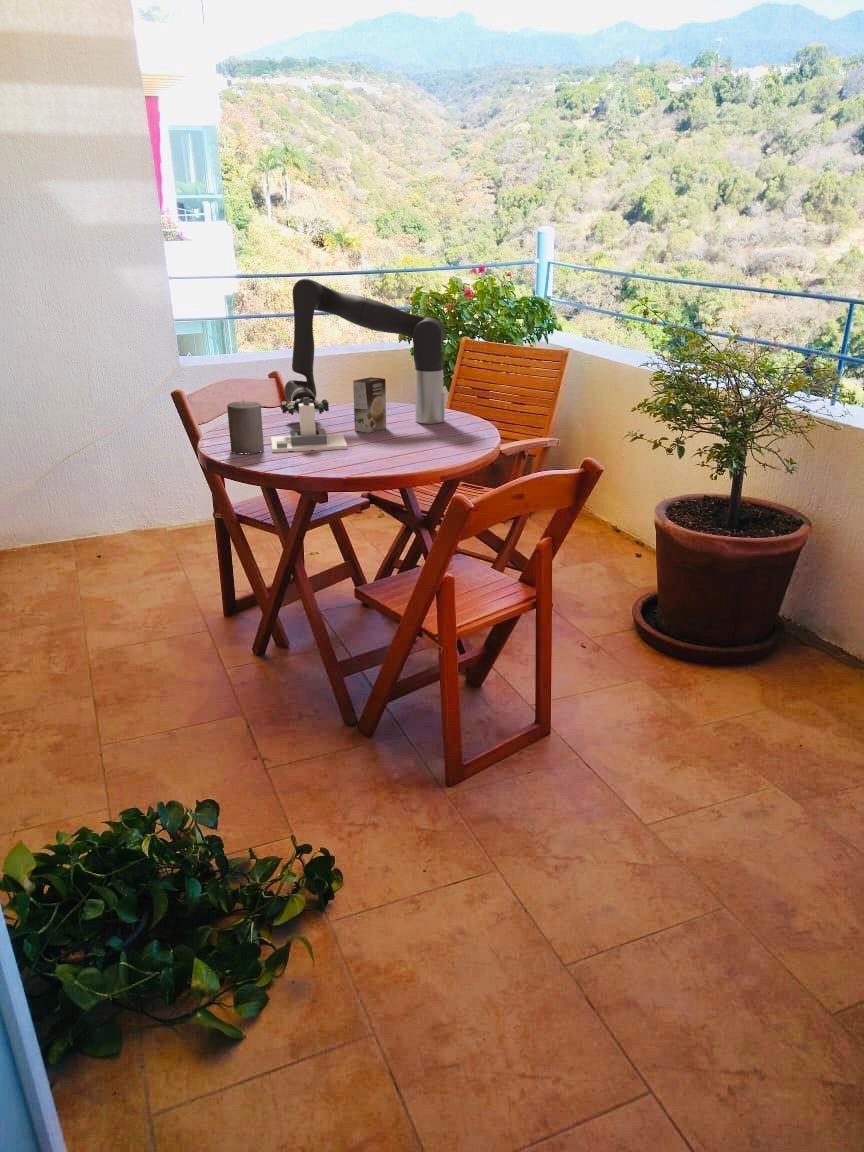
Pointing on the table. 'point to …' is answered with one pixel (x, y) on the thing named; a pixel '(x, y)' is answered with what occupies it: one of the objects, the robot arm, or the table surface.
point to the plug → (307, 418)
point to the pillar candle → (245, 427)
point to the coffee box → (369, 404)
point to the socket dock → (329, 446)
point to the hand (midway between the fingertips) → (306, 411)
